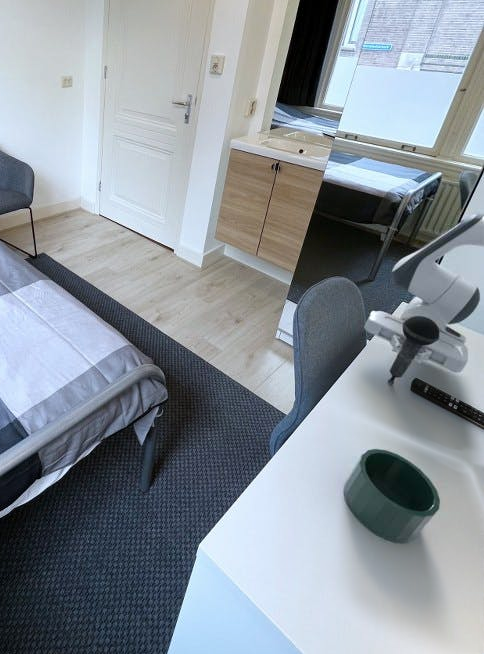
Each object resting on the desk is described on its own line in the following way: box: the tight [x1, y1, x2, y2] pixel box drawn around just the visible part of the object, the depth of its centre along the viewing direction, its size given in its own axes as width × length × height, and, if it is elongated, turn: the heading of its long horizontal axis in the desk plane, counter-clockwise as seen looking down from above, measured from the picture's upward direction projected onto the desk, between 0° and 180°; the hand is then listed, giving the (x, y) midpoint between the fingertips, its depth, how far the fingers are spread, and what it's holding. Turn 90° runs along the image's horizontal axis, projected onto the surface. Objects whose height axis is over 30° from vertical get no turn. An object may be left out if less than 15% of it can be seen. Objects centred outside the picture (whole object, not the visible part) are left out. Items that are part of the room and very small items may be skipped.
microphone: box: [387, 316, 440, 386], centre depth 98 cm, size 7×7×20 cm
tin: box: [343, 448, 441, 544], centre depth 73 cm, size 12×12×8 cm
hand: (407, 354), depth 97 cm, fingers open, 3 cm apart
